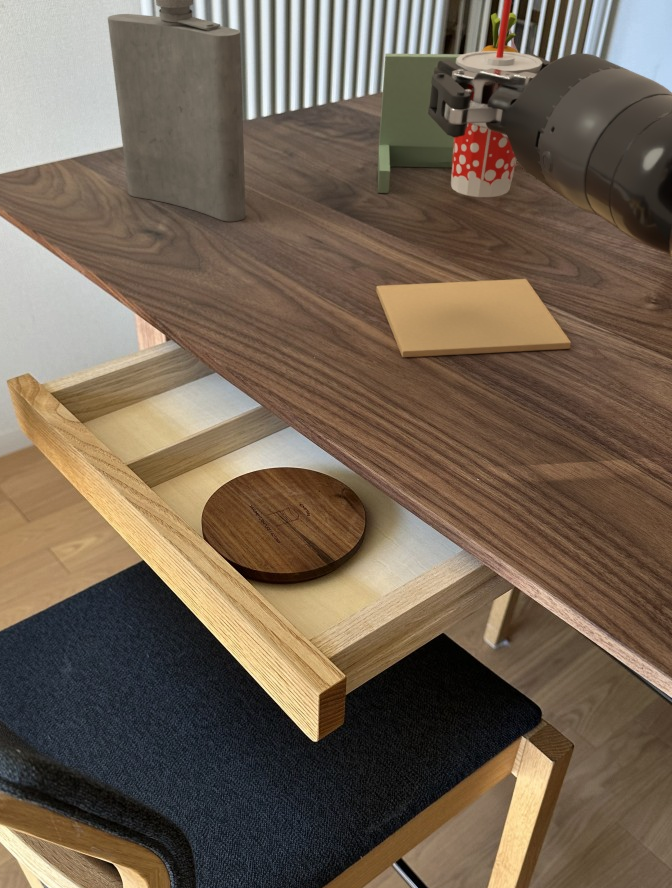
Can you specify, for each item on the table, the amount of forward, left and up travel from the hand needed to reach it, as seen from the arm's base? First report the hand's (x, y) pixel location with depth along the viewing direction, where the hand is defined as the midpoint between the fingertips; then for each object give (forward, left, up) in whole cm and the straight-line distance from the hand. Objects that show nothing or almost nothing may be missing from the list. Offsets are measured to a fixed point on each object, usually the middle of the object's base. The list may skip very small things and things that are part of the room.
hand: (482, 72), depth 64 cm
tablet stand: (-5, -31, -19) cm, 36 cm away
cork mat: (-1, +3, -19) cm, 19 cm away
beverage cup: (0, +2, -8) cm, 8 cm away
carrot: (-15, -42, -19) cm, 48 cm away
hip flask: (+23, -27, -19) cm, 40 cm away
